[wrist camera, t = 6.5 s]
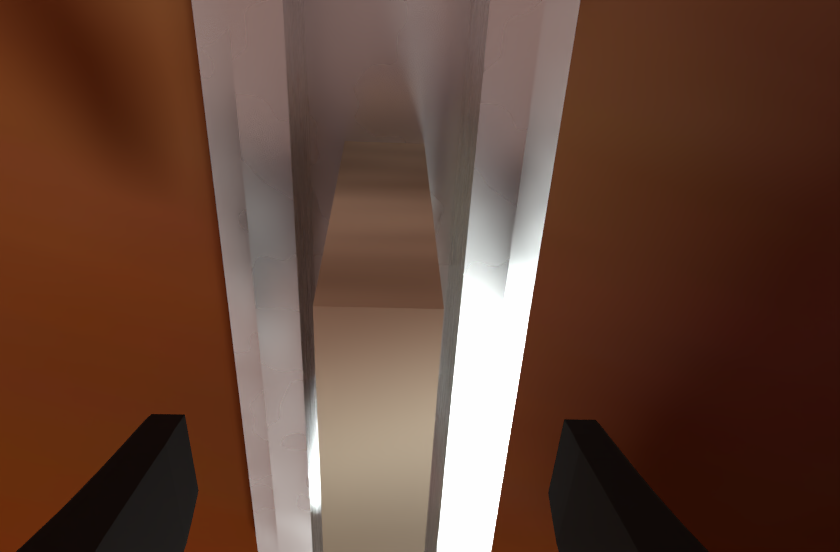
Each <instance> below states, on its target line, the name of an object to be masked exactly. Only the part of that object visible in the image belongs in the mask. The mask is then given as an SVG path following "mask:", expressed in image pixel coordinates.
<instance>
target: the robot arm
mask: <svg viewBox="0 0 840 552" xmlns="http://www.w3.org/2000/svg"><path fill="white" fill-rule="evenodd" d="M197 495H198V486H197V480H196V475H195V469H194V464H193V458H192V453H191V447H190V442H189V436H188V431H187V425H186V419H185V415H171V414H151V415H150V416H149V417H148V418H147V419H146V420H145V421H144V422H143V423H142V424H141V425H140V426H139V427H138V428H137V430H136V431H135V432H134V433H133V434H132V435H131V436H130V437H129V438H128V439H127V441H126V442H125V443H124V444H123V445H122V446H121V447H120V448H119V449H118V450H117V452H116V453H115V454H114V455H113V456H112V457H111V458H110V459H109V460H108V461H107V462H106V463H105V464H104V466H103V467H102V468H101V469H100V470H99V471H98V472H97V473H96V474H95V475H94V476H93V477H92V478H91V479H90V480H89V481H88V482H87V483H86V484H85V485H84V486H83V487H82V488H81V490H80V491H79V492H78V493H77V494H76V495H75V496H74V497H73V498H72V499H71V500H70V501H69V502H68V503H67V504H66V505H65V506H64V507H63V508H62V509H61V510H60V511H59V512H58V513H57V514H56V515H55V516H54V517H53V518H51V519H50V520H49V521H48V522H47V523H46V524H45V525H44V526H43V527H42V528H41V529H40V530H39V531H38V532H37V533H36V534H35V535H33V536H32V537H31V538H30V539H29V540H28V541H27V542H26V543H25V544H24V545H23V546H22V547H21V548H20V549H18V550H17V551H16V552H184V549H185V546H186V543H187V538H188V534H189V530H190V526H191V522H192V517H193V513H194V508H195V504H196V499H197ZM549 500H550V506H551V513H552V519H553V525H554V530H555V536H556V542H557V546H558V550H559V552H708V550H707V549H706V548H705V547H704V546H703V545H702V544H701V543H700V542H699V541H698V540H697V539H696V538H695V537H694V536H693V535H692V534H691V533H690V532H689V531H688V529H687V528H686V527H685V526H684V525H683V524H682V523H681V522H680V521H679V520H678V519H677V517H676V516H675V515H674V514H673V513H672V512H671V511H670V509H669V508H668V507H667V506H666V505H665V504H664V503H663V501H662V500H661V499H660V498H659V497H658V496H657V495H656V493H655V492H654V491H653V490H652V489H651V488H650V486H649V485H648V484H647V483H646V482H645V480H644V479H643V478H642V477H641V476H640V474H639V473H638V472H637V471H636V469H635V468H634V467H633V466H632V464H631V463H630V462H629V461H628V460H627V458H626V457H625V456H624V455H623V453H622V452H621V451H620V450H619V448H618V447H617V446H616V444H615V443H614V442H613V441H612V439H611V438H610V437H609V436H608V434H607V433H606V432H605V430H604V429H603V428H602V427H601V425H600V424H599V423H598V422H597V421H596V420H564V424H563V428H562V433H561V437H560V442H559V447H558V451H557V456H556V460H555V465H554V470H553V474H552V479H551V483H550V488H549Z"/></svg>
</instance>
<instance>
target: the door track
mask: <svg viewBox="0 0 840 552" xmlns="http://www.w3.org/2000/svg"><path fill="white" fill-rule="evenodd" d="M191 1H192V9H193V18H194V26H195V34H196V42H197V51H198V59H199V67H200V75H201V84H202V92H203V100H204V108H205V117H206V125H207V133H208V142H209V150H210V158H211V166H212V175H213V183H214V191H215V199H216V208H217V216H218V224H219V232H220V241H221V249H222V257H223V266H224V274H225V282H226V290H227V299H228V307H229V315H230V323H231V332H232V340H233V348H234V357H235V365H236V373H237V381H238V390H239V398H240V406H241V414H242V423H243V431H244V439H245V447H246V456H247V464H248V472H249V481H250V489H251V497H252V505H253V514H254V522H255V530H256V538H257V547H258V552H323V537H322V513H321V490H320V466H319V442H318V419H317V395H316V372H315V348H314V325H313V302H314V297H315V292H316V287H317V282H318V276H319V271H320V266H321V261H322V256H323V251H324V245H325V240H326V235H327V230H328V225H329V220H330V215H331V209H332V204H333V199H334V194H335V189H336V184H337V178H338V173H339V168H340V163H341V158H342V153H343V148H344V142H345V141H355V142H384V143H412V144H424V145H425V154H426V162H427V170H428V179H429V187H430V196H431V204H432V212H433V221H434V229H435V238H436V246H437V254H438V263H439V271H440V280H441V288H442V296H443V305H444V315H443V328H442V340H441V352H440V365H439V377H438V389H437V402H436V414H435V426H434V439H433V451H432V463H431V476H430V488H429V500H428V513H427V525H426V537H425V550H424V552H491V546H492V540H493V534H494V528H495V522H496V516H497V510H498V503H499V497H500V491H501V485H502V479H503V473H504V467H505V460H506V454H507V448H508V442H509V436H510V430H511V424H512V417H513V411H514V405H515V399H516V393H517V387H518V381H519V374H520V368H521V362H522V356H523V350H524V344H525V338H526V331H527V325H528V319H529V313H530V307H531V301H532V295H533V288H534V282H535V276H536V270H537V264H538V258H539V252H540V245H541V239H542V233H543V227H544V221H545V215H546V209H547V202H548V196H549V190H550V184H551V178H552V172H553V166H554V159H555V153H556V147H557V141H558V135H559V129H560V123H561V116H562V110H563V104H564V98H565V92H566V86H567V80H568V73H569V67H570V61H571V55H572V49H573V43H574V37H575V30H576V24H577V18H578V12H579V6H580V0H191Z"/></svg>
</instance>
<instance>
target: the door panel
mask: <svg viewBox="0 0 840 552" xmlns="http://www.w3.org/2000/svg"><path fill="white" fill-rule="evenodd" d="M443 315H444V305H443V296H442V288H441V280H440V271H439V263H438V254H437V246H436V238H435V229H434V221H433V212H432V204H431V196H430V187H429V179H428V170H427V162H426V154H425V145H424V144H412V143H384V142H355V141H345V142H344V148H343V153H342V158H341V163H340V168H339V173H338V178H337V184H336V189H335V194H334V199H333V204H332V209H331V215H330V220H329V225H328V230H327V235H326V240H325V245H324V251H323V256H322V261H321V266H320V271H319V276H318V282H317V287H316V292H315V297H314V302H313V325H314V348H315V372H316V395H317V419H318V442H319V466H320V490H321V513H322V537H323V552H424V550H425V537H426V525H427V513H428V500H429V488H430V476H431V463H432V451H433V439H434V426H435V414H436V402H437V389H438V377H439V365H440V352H441V340H442V328H443Z"/></svg>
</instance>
